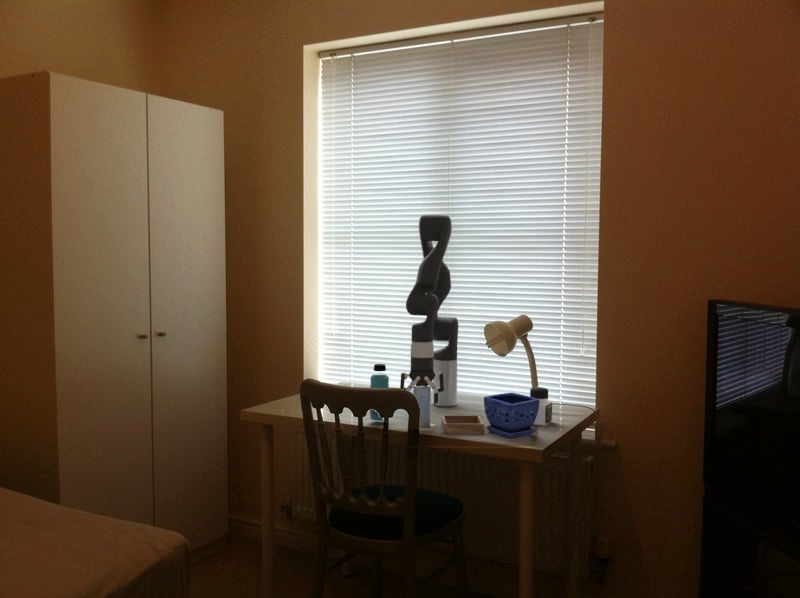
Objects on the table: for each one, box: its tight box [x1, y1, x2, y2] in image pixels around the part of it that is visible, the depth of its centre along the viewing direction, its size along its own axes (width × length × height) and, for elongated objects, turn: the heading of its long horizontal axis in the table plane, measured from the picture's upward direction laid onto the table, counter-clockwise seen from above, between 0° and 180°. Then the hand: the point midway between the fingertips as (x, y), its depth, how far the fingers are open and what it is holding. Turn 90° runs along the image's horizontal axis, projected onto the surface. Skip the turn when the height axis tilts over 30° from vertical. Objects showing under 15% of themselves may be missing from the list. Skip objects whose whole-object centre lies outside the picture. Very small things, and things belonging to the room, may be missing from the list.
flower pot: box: [483, 392, 540, 439], centre depth 230 cm, size 13×13×12 cm
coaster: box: [406, 422, 438, 431], centre depth 238 cm, size 10×10×1 cm
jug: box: [412, 385, 432, 428], centre depth 237 cm, size 6×8×13 cm
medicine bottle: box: [529, 386, 553, 427], centre depth 246 cm, size 7×7×12 cm
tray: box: [441, 414, 485, 435], centre depth 235 cm, size 13×13×4 cm
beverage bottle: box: [369, 363, 390, 422], centre depth 244 cm, size 6×7×20 cm
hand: (421, 404), depth 238 cm, fingers open, 8 cm apart
